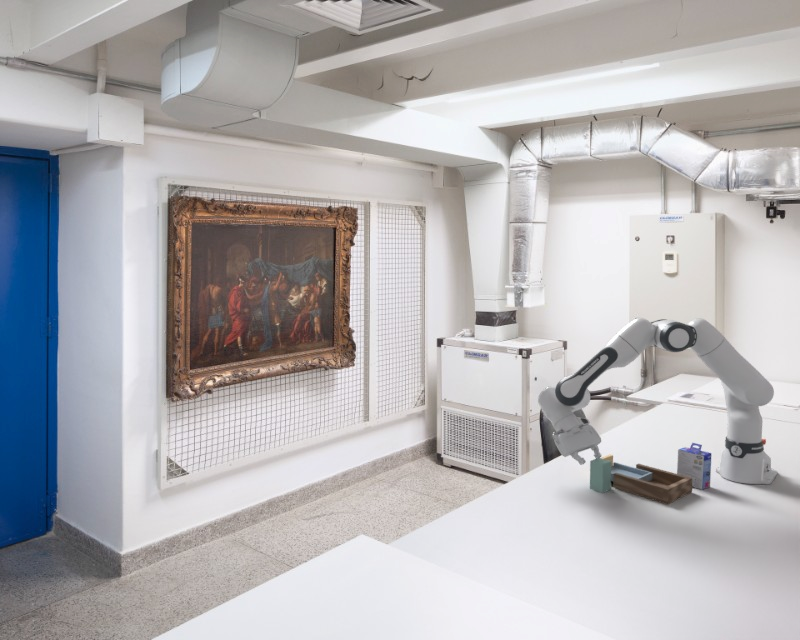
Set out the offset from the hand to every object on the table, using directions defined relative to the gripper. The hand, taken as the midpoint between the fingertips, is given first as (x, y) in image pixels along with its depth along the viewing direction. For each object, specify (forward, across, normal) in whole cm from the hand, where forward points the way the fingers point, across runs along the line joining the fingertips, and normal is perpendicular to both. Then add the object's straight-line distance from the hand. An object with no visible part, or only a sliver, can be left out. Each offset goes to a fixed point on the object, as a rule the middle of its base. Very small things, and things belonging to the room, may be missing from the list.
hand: (591, 460), depth 227 cm
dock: (+18, +12, -5) cm, 22 cm away
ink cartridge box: (+23, +28, -9) cm, 37 cm away
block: (+9, 0, +4) cm, 10 cm away
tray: (+9, +12, +3) cm, 15 cm away
